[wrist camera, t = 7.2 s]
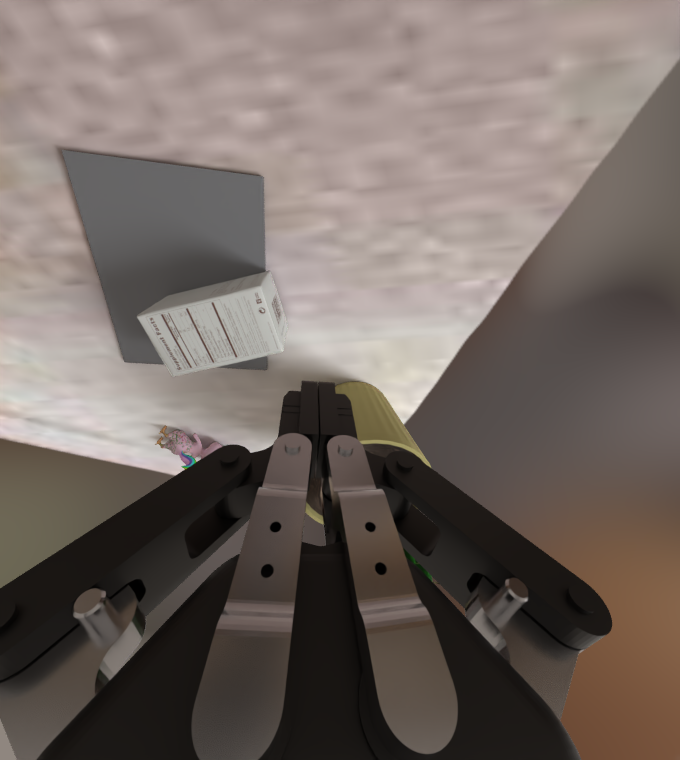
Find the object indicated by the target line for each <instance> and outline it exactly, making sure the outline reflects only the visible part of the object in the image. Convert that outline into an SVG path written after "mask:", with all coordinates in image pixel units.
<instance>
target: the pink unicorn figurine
mask: <svg viewBox="0 0 680 760" xmlns="http://www.w3.org/2000/svg"><path fill="white" fill-rule="evenodd" d="M165 427H166V428H167V426H165ZM165 427H164V428H163V429H162V430H161V431H160V433H163V434H164V435H165V437H168V438H170V439H171V440H170V441H168V442H167V443H166V444H161V440H162V439H163V438H162V436H161V438H160V439H159V440H158V441H157V444H159V445H160V446H161V448H166V449H169V450H171V452H172V453H173V454H176V455H180V458H181V460H182V461H183V462H184V463H185V464H186V466H182V467H183V468H184V469H187V468H188V467H190V466H192V465H193V464H195V463H196V460H195V459H194V458H196V457H197V456H199V455H200V456H201V457H202V458H204V457H206V456H207V455H209V454H210V453H212V452H213V451H215V450H216V449H218V448H220V447H222V446H221V445H220V444H219V443H217V442H214V443H212V444H210V446H209V447H208V448H207V449H204V448H203V447H202V443H201V441H200V439H199V437H198V436H197V434H196V433H194V434H193V437H194V438H195V439H196V441H197V442H193V441H191V440H190V439H189V437H188V436H187V435H186V434H185V433H184V432H183V431H180V430H176V431H173V432H172V433H169V434H166V433H165V432H164V431H165V429H166V428H165ZM160 433H158V434H160ZM157 444H155V445H157ZM188 452H189V453H192V455H191V456H189V455H186V454H184V453H188ZM202 458H201V459H202Z"/></svg>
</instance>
